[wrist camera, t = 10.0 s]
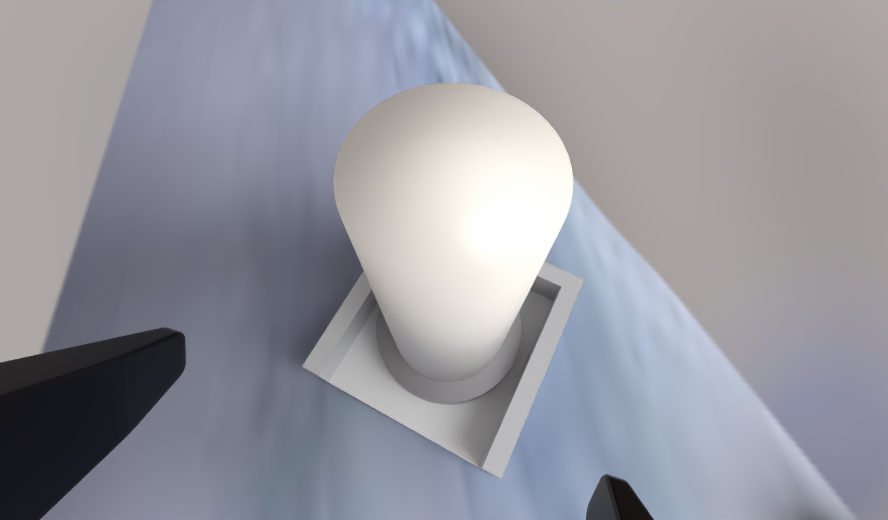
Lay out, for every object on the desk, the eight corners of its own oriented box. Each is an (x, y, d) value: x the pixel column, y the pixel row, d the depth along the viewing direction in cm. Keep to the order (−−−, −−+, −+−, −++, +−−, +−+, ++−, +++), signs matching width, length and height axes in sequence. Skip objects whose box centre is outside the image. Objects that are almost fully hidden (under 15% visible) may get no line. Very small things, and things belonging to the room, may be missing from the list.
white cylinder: (481, 432, 19) (538, 391, 7) (353, 362, 21) (226, 231, 9) (538, 304, 22) (652, 119, 10) (421, 248, 23) (395, 24, 11)
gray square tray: (494, 476, 19) (500, 479, 17) (317, 376, 21) (301, 366, 19) (570, 297, 22) (584, 279, 20) (412, 224, 24) (408, 200, 22)
